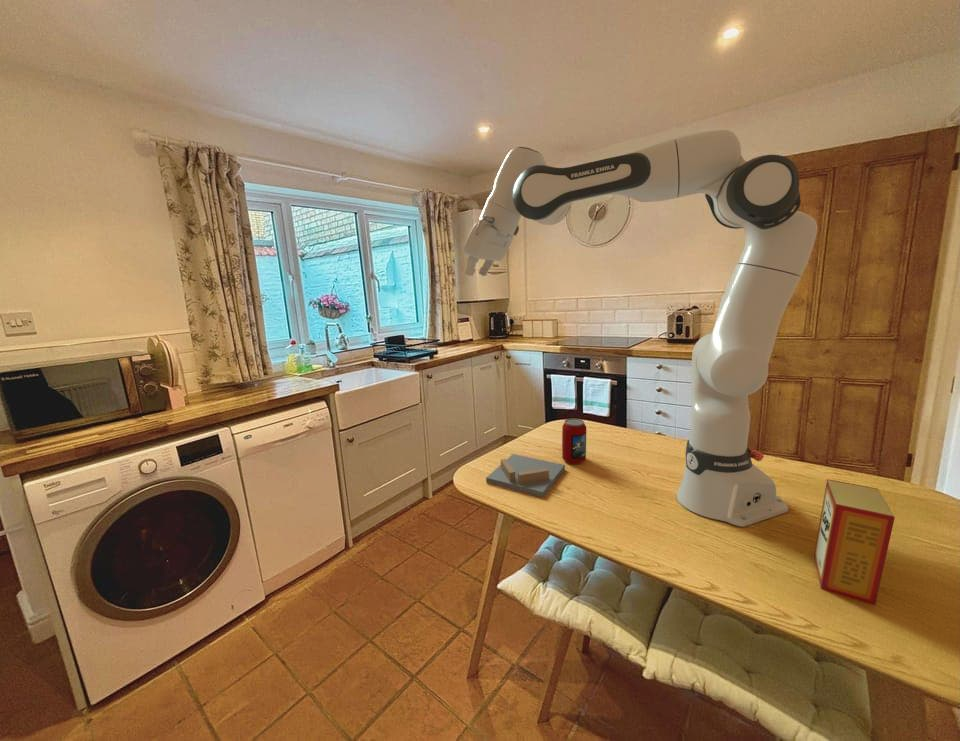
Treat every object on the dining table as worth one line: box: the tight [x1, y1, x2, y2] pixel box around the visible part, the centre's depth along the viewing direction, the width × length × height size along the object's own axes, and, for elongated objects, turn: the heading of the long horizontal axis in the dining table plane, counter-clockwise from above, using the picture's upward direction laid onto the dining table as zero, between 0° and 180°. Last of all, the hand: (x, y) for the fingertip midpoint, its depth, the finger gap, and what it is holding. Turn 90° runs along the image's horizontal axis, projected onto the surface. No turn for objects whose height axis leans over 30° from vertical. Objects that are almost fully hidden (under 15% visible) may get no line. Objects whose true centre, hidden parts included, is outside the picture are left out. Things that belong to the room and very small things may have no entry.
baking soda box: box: [813, 478, 895, 606], centre depth 66 cm, size 10×6×16 cm
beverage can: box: [561, 417, 587, 465], centre depth 113 cm, size 7×7×12 cm
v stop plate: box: [485, 453, 566, 499], centre depth 106 cm, size 16×16×4 cm
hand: (475, 274), depth 98 cm, fingers open, 8 cm apart
